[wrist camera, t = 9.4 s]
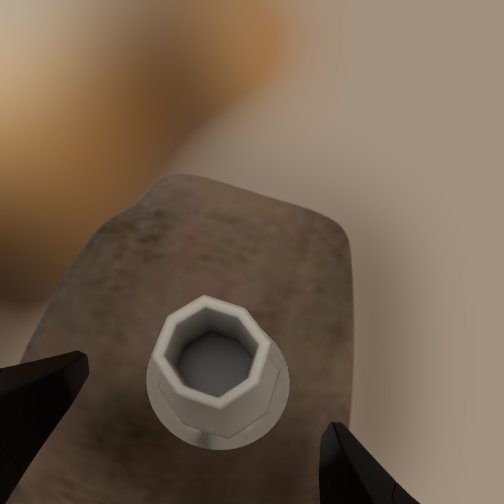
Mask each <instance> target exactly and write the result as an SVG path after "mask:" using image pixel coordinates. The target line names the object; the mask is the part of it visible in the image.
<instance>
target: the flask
mask: <svg viewBox="0 0 504 504" xmlns="http://www.w3.org/2000/svg"><path fill="white" fill-rule="evenodd" d="M270 346H271V341H270V340H269V338H268V337H267V336H266V334H265V333H264V332H263V331H262V329H261V328H260V327H259V326H258V324H257V323H256V322H255V320H254V319H253V318H252V317H251V315H250V314H249V313H248V311H247V310H246V309H245V308H243V307H240V306H237V305H234V304H231V303H228V302H225V301H221V300H218V299H215V298H212V297H209V296H206V295H202V296H201V297H199V298H197V299H196V300H194V301H192V302H191V303H189V304H187V305H186V306H184V307H182V308H181V309H179V310H177V311H176V312H174V313H172V314H171V315H169V316H167V319H166V321H165V323H164V326H163V328H162V330H161V333H160V335H159V338H158V340H157V342H156V345H155V347H154V350H153V352H152V355H151V357H152V358H153V360H154V362H155V363H156V365H157V367H158V368H159V370H160V371H161V373H162V374H161V377H160V379H159V382H158V384H157V387H158V388H159V390H160V391H161V393H162V394H163V396H164V397H165V399H166V400H167V402H168V403H169V405H170V406H171V408H172V409H173V411H174V412H175V414H176V415H177V417H178V418H179V419H180V421H181V422H182V423H183V424H184V425H187V426H189V427H192V428H195V429H198V430H201V431H204V432H207V433H210V434H213V435H216V436H219V437H222V438H226V439H231V438H232V437H234V436H235V435H237V434H238V433H240V432H241V431H243V430H245V429H246V428H248V427H249V426H250V425H252V424H253V423H255V422H256V421H258V420H259V419H261V418H262V417H263V416H265V415H266V414H268V411H269V408H270V404H271V401H272V398H273V394H274V391H275V387H276V384H277V380H278V377H279V373H280V370H279V369H278V368H277V366H276V365H275V364H274V363H273V361H272V360H271V359H270V358H269V356H268V353H269V349H270Z"/></svg>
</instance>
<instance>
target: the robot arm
mask: <svg viewBox="0 0 504 504" xmlns="http://www.w3.org/2000/svg"><path fill="white" fill-rule="evenodd" d="M88 375H89V365H88V357H87V355H86V354H84V353H82V352H80V351H73V352H69V353H65V354H61V355H57V356H53V357H49V358H45V359H41V360H37V361H32V362H28V363H23V364H19V365H15V366H10V367H5V368H0V504H5V503H6V502H7V500H8V498H9V497H10V495H11V493H12V492H13V490H14V489H15V487H16V485H17V484H18V482H19V481H20V479H21V477H22V476H23V474H24V473H25V471H26V469H27V468H28V466H29V465H30V463H31V462H32V460H33V459H34V457H35V456H36V454H37V453H38V451H39V450H40V448H41V447H42V446H43V444H44V443H45V441H46V440H47V438H48V437H49V435H50V434H51V433H52V431H53V430H54V428H55V427H56V426H57V424H58V423H59V421H60V420H61V419H62V417H63V416H64V415H65V413H66V412H67V410H68V409H69V408H70V406H71V405H72V403H73V402H74V400H75V398H76V396H77V395H78V393H79V391H80V389H81V388H82V386H83V384H84V382H85V381H86V379H87V377H88ZM319 488H320V504H420V503H419V502H418V501H416V500H415V499H414V498H413V497H412V496H411V495H409V494H408V493H407V492H406V491H405V490H404V489H403V488H402V487H401V486H400V485H399V484H398V483H396V481H395V480H394V479H393V478H392V476H390V474H389V473H388V472H387V471H386V470H385V469H384V468H383V467H382V466H381V465H380V464H379V463H378V462H377V461H376V459H375V458H374V457H373V456H372V455H371V454H370V453H369V452H368V451H367V450H366V449H365V448H364V447H363V445H362V444H361V443H360V442H359V441H358V440H357V439H356V438H355V437H354V435H353V434H352V433H351V432H350V431H349V430H348V429H347V427H346V426H345V425H344V424H343V423H341V422H331V423H330V424H329V425H328V427H327V429H326V430H325V432H324V433H323V435H322V437H321V444H320V463H319Z"/></svg>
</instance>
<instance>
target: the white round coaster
mask: <svg viewBox="0 0 504 504" xmlns="http://www.w3.org/2000/svg"><path fill="white" fill-rule="evenodd" d="M262 331H263V330H262ZM263 332H264V331H263ZM264 333H265V332H264ZM265 334H266V333H265ZM266 336H267V337H268V338H269V340H270V341H271V346H270V349H269V353H268V356H269V358H270V359H271V360H272V361H273V363H274V364H275V365H276V366H277V368H278V369H279V370H280V373H279V377H278V380H277V384H276V387H275V391H274V394H273V398H272V401H271V404H270V408H269V411H268V414H266V415H265V416H263V417H262V418H261V419H259V420H258V421H256V422H255V423H253V424H252V425H250V426H249V427H248V428H246V429H245V430H243V431H241V432H240V433H238V434H237V435H235V436H234V437H232V438H231V439H226V438H222V437H219V436H216V435H213V434H210V433H207V432H204V431H201V430H198V429H195V428H192V427H189V426H187V425H184V424H183V423H182V422H181V421H180V419H179V418H178V417H177V415H176V414H175V412H174V411H173V409H172V408H171V406H170V405H169V403H168V402H167V400H166V399H165V397H164V396H163V394H162V393H161V391H160V390H159V388H158V387H157V384H158V382H159V379H160V377H161V374H162V373H161V371H160V370H159V368H158V367H157V365H156V363H155V362H154V360H153V358H152V357H151V358H150V361H149V364H148V369H147V379H146V384H147V392H148V396H149V400H150V403H151V405H152V408H153V410H154V412H155V413H156V415H157V417H158V418H159V420H160V421H161V422H162V424H163V425H164V426H165V427H166V428H167V429H168V430H169V431H170V432H172V433H173V434H174V435H175V436H177V437H178V438H180V439H182V440H183V441H185V442H187V443H189V444H192V445H194V446H197V447H201V448H205V449H212V450H228V449H235V448H239V447H242V446H245V445H248V444H250V443H252V442H254V441H256V440H258V439H259V438H261V437H262V436H264V435H265V434H266V433H267V432H268V431H269V430H270V429H271V428H272V427H273V426H274V425H275V424H276V423H277V421H278V420H279V418H280V417H281V415H282V413H283V411H284V409H285V406H286V403H287V400H288V395H289V385H290V383H289V373H288V368H287V365H286V362H285V359H284V357H283V355H282V353H281V351H280V349H279V348H278V346H277V345H276V344H275V342H274V341H273V340H272V339H271V338H270V337H269V336H268V335H267V334H266Z"/></svg>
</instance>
